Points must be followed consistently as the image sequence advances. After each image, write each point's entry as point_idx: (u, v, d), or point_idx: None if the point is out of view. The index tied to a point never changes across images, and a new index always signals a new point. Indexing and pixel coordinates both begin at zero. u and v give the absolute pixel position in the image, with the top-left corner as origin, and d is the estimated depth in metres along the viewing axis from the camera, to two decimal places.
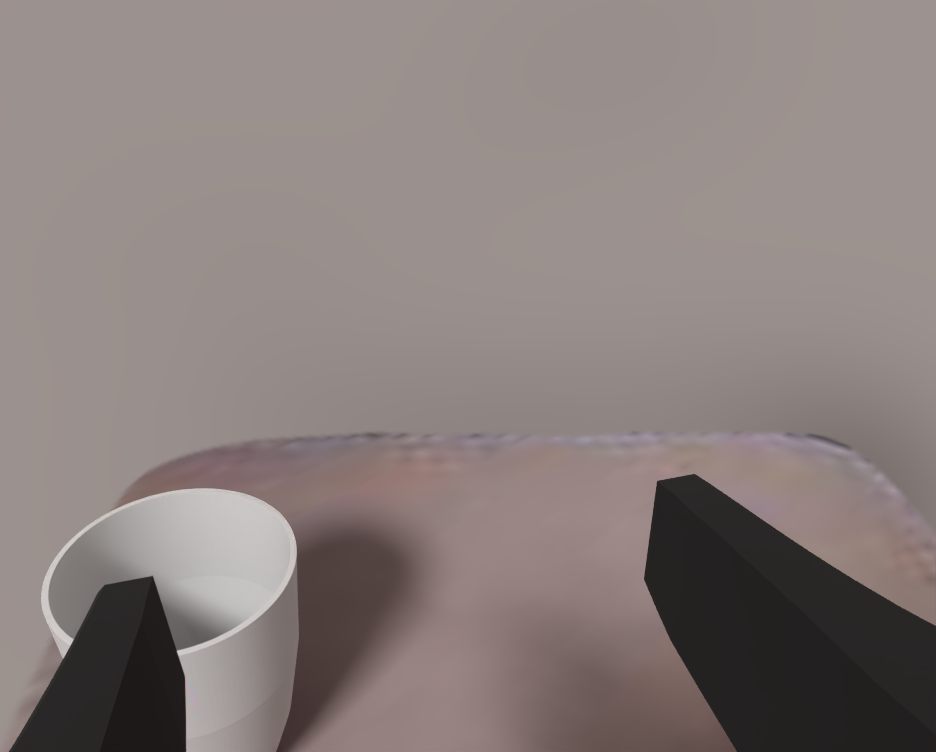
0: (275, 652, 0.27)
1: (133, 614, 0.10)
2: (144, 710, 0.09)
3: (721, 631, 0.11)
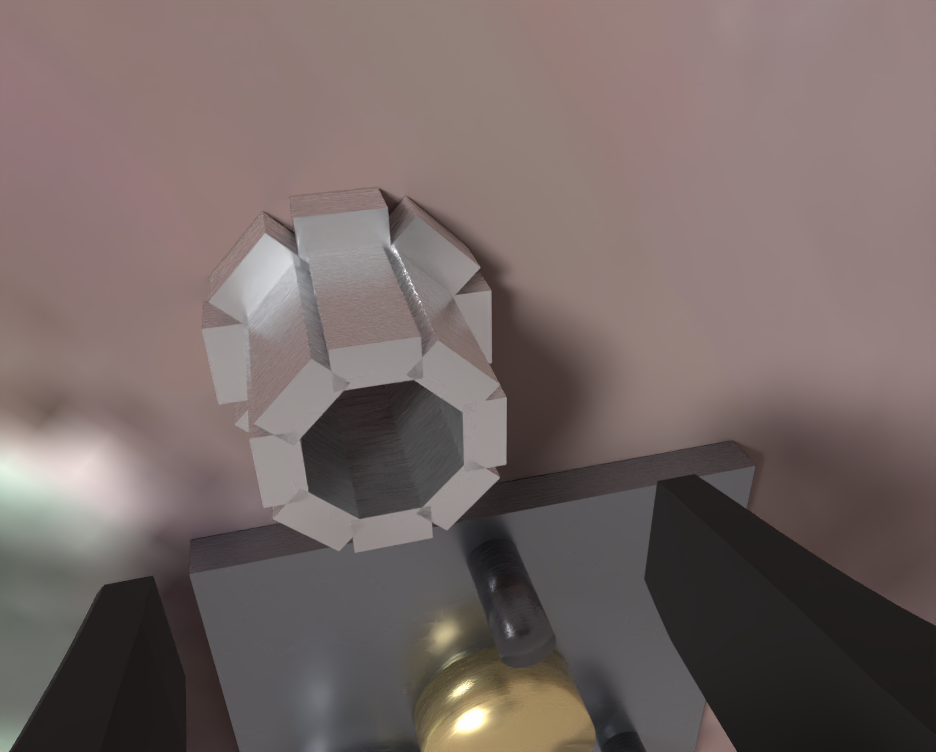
0: None
1: (133, 614, 0.10)
2: (144, 710, 0.09)
3: (721, 631, 0.11)
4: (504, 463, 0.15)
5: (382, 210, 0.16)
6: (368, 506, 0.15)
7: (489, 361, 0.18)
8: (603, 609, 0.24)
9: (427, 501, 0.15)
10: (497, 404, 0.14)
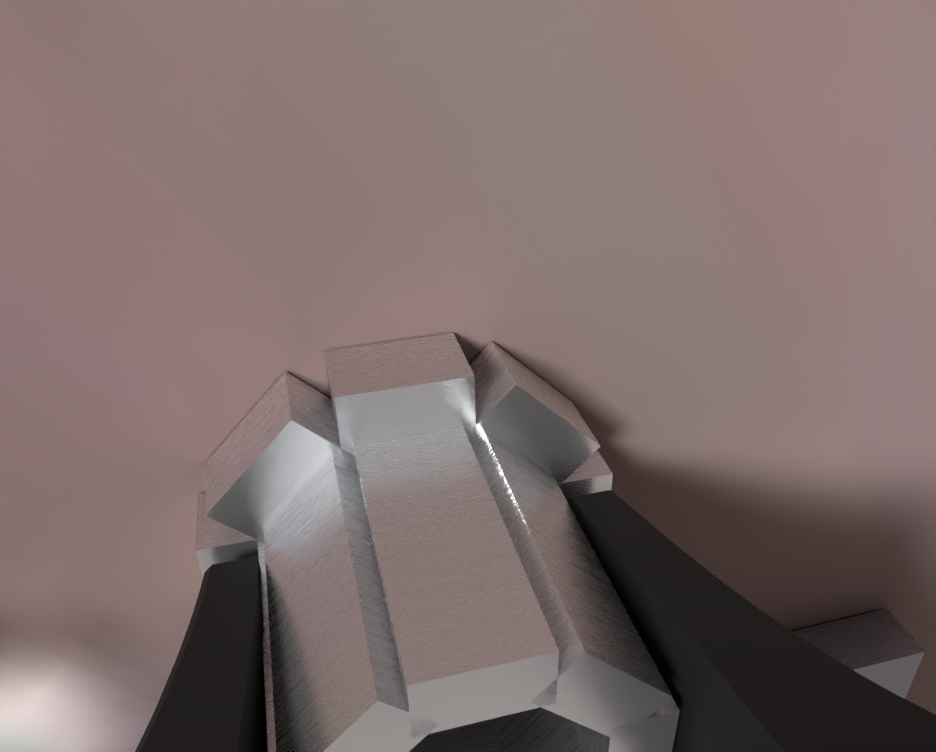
0: None
1: (247, 592, 0.10)
2: (262, 684, 0.09)
3: None
4: None
5: (467, 379, 0.11)
6: None
7: None
8: None
9: None
10: (663, 720, 0.09)
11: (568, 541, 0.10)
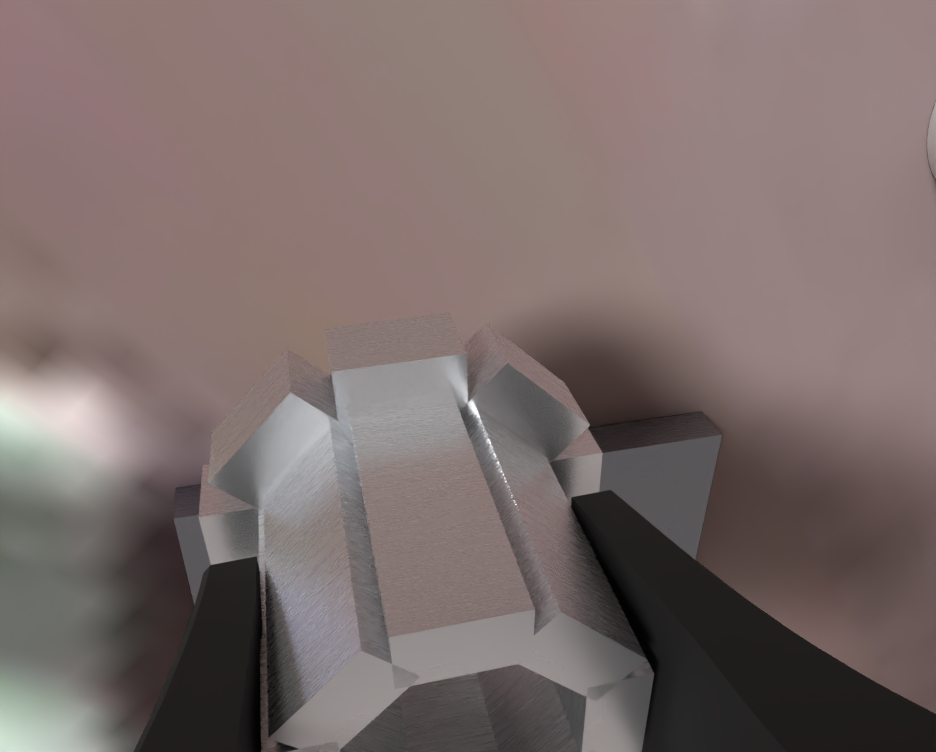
0: None
1: (246, 592, 0.10)
2: None
3: None
4: (638, 749, 0.10)
5: (459, 357, 0.11)
6: None
7: None
8: None
9: None
10: (638, 682, 0.09)
11: (553, 512, 0.11)
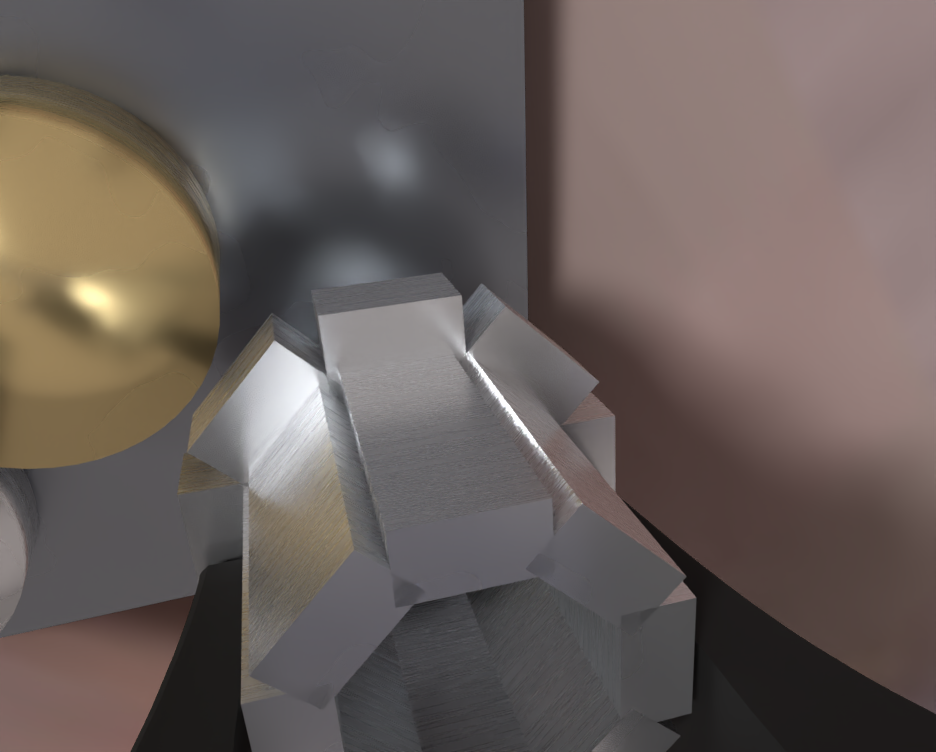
0: None
1: None
2: None
3: None
4: (687, 711, 0.09)
5: (453, 299, 0.10)
6: None
7: None
8: (231, 6, 0.11)
9: None
10: (679, 610, 0.08)
11: (566, 450, 0.10)
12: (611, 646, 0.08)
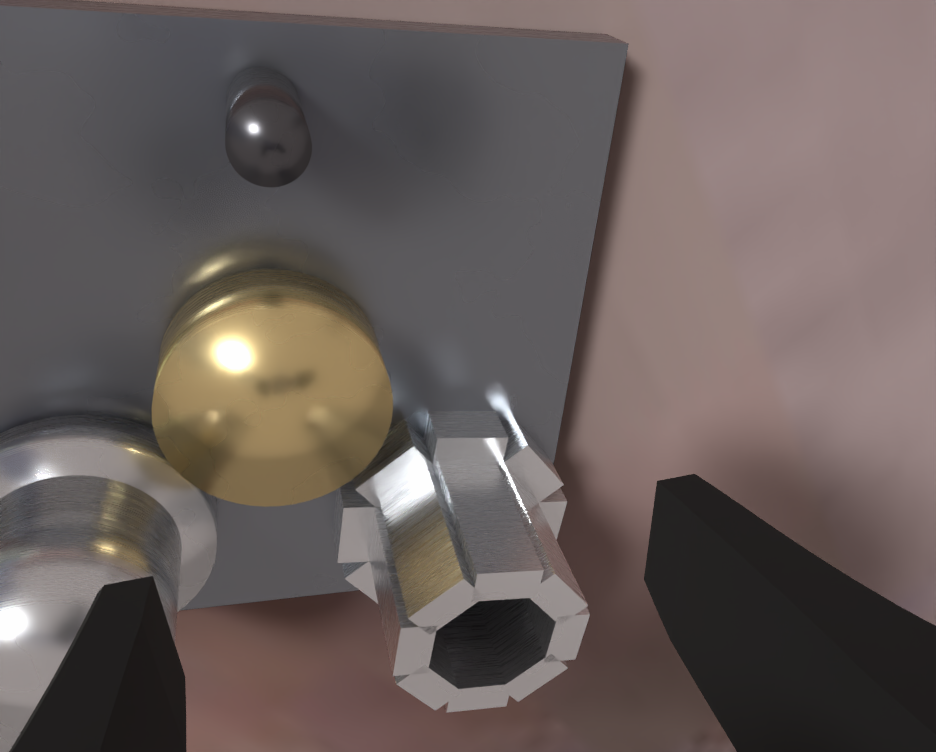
0: None
1: (133, 614, 0.10)
2: (144, 710, 0.09)
3: (721, 631, 0.11)
4: (574, 658, 0.19)
5: (504, 439, 0.20)
6: (463, 677, 0.19)
7: None
8: (422, 244, 0.18)
9: (510, 680, 0.19)
10: (581, 618, 0.19)
11: (545, 529, 0.20)
12: (548, 626, 0.19)
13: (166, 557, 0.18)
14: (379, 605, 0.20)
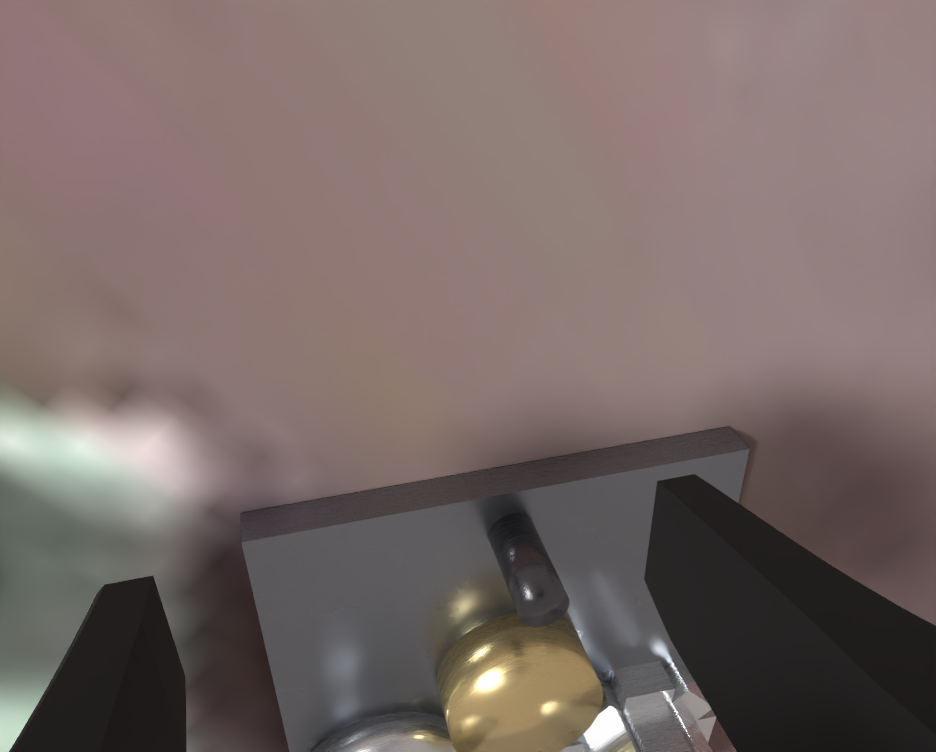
0: None
1: (133, 614, 0.10)
2: (144, 710, 0.09)
3: (721, 631, 0.11)
4: None
5: (672, 690, 0.28)
6: None
7: None
8: (610, 580, 0.26)
9: None
10: None
11: None
12: None
13: None
14: None
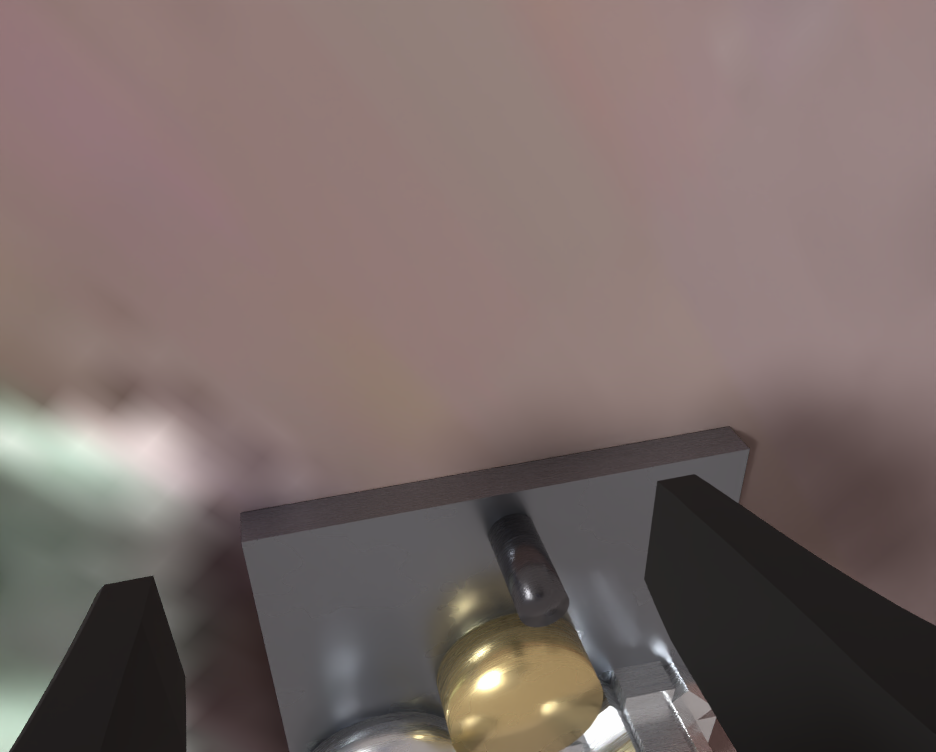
0: None
1: (133, 614, 0.10)
2: (144, 710, 0.09)
3: (721, 631, 0.11)
4: None
5: (672, 690, 0.28)
6: None
7: None
8: (610, 580, 0.26)
9: None
10: None
11: None
12: None
13: None
14: None
